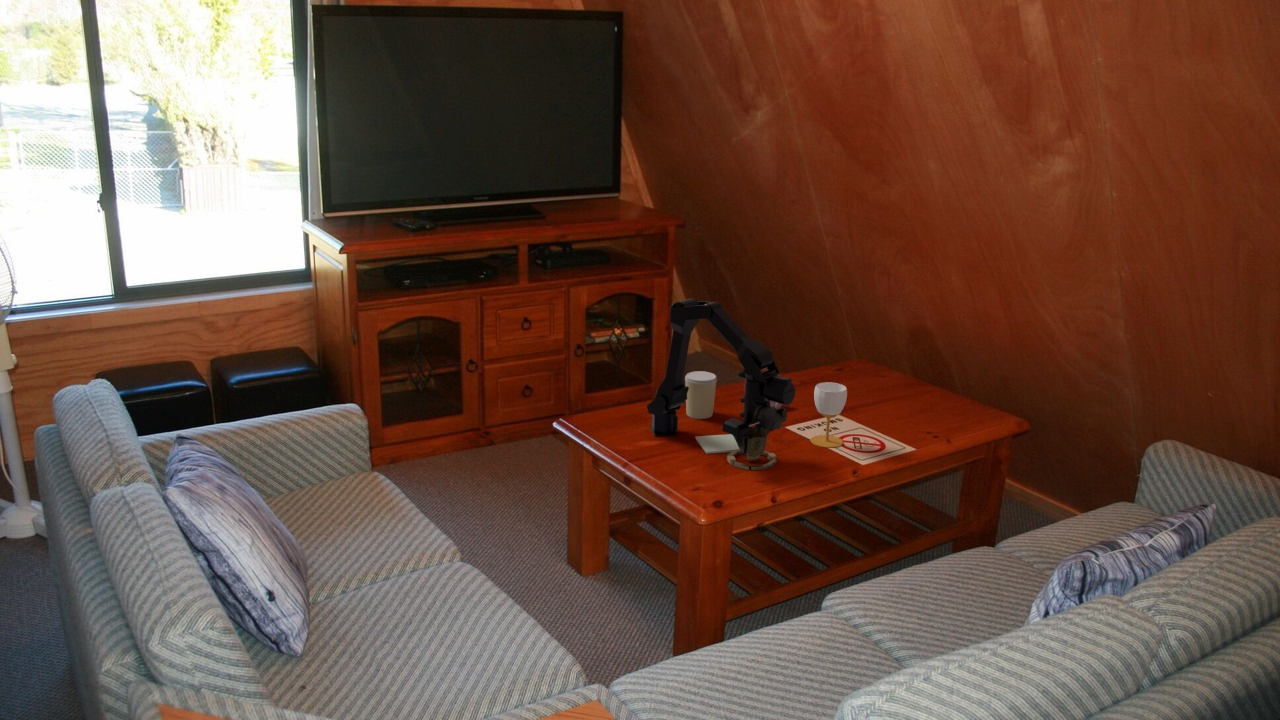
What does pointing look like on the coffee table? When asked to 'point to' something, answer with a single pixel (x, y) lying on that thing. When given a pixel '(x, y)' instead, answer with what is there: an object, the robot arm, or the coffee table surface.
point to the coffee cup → (700, 394)
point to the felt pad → (717, 443)
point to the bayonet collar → (770, 456)
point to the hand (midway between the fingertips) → (752, 451)
